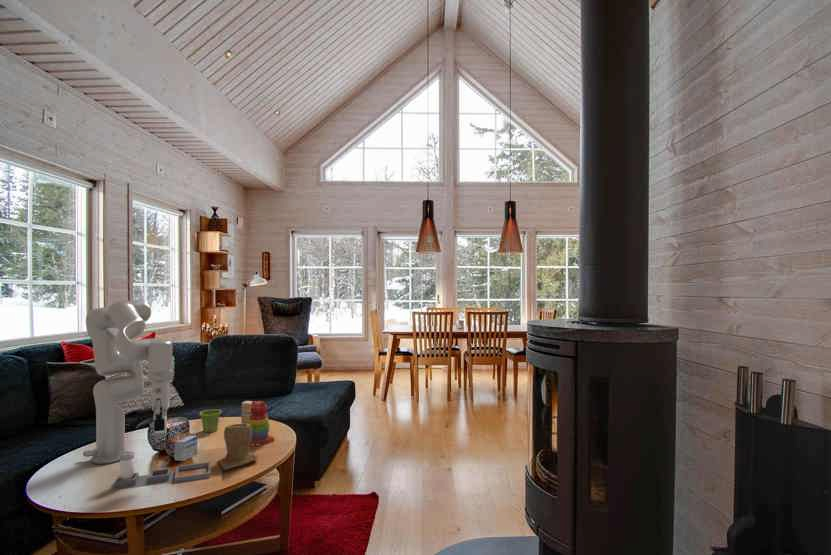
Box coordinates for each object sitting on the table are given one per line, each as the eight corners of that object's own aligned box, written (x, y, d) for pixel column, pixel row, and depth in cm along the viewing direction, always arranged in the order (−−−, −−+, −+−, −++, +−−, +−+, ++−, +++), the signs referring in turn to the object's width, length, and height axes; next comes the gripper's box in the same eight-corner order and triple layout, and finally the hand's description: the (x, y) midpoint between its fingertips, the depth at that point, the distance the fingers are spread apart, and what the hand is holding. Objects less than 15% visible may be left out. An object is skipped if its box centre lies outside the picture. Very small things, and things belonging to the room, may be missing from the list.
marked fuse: (152, 438, 163) (152, 409, 163) (154, 435, 167) (154, 406, 167) (165, 437, 164) (166, 408, 165) (167, 433, 168) (167, 405, 168)
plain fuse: (119, 486, 159) (119, 456, 159) (121, 481, 163) (121, 452, 163) (132, 484, 161) (132, 454, 161) (134, 479, 164) (134, 450, 164)
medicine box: (184, 465, 181) (184, 442, 181) (174, 464, 182) (174, 441, 182) (197, 457, 189) (197, 435, 189) (187, 456, 190) (187, 435, 190)
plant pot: (225, 430, 224) (225, 411, 224) (205, 435, 216) (205, 416, 216) (214, 426, 230) (214, 408, 230) (195, 431, 222) (195, 412, 222)
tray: (174, 486, 162) (174, 478, 162) (177, 474, 172) (177, 466, 172) (209, 481, 166) (209, 472, 166) (210, 469, 177) (210, 461, 177)
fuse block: (110, 495, 156) (110, 484, 156) (116, 483, 165) (116, 473, 165) (171, 486, 162) (171, 476, 162) (174, 475, 172) (174, 465, 172)
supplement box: (240, 430, 223) (240, 402, 223) (246, 427, 227) (246, 400, 227) (257, 431, 221) (257, 403, 221) (262, 428, 226) (262, 401, 226)
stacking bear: (276, 440, 210) (276, 399, 210) (260, 447, 201) (260, 405, 201) (257, 436, 214) (257, 397, 214) (240, 443, 205) (240, 402, 205)
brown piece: (245, 454, 192) (245, 417, 192) (261, 462, 184) (262, 423, 184) (209, 466, 180) (209, 426, 180) (224, 474, 173) (225, 433, 173)
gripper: (169, 380, 159) (169, 434, 159) (174, 371, 175) (174, 420, 175) (144, 381, 157) (144, 437, 156) (151, 372, 172) (151, 423, 172)
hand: (160, 428), depth 166 cm, fingers closed on marked fuse, 4 cm apart
